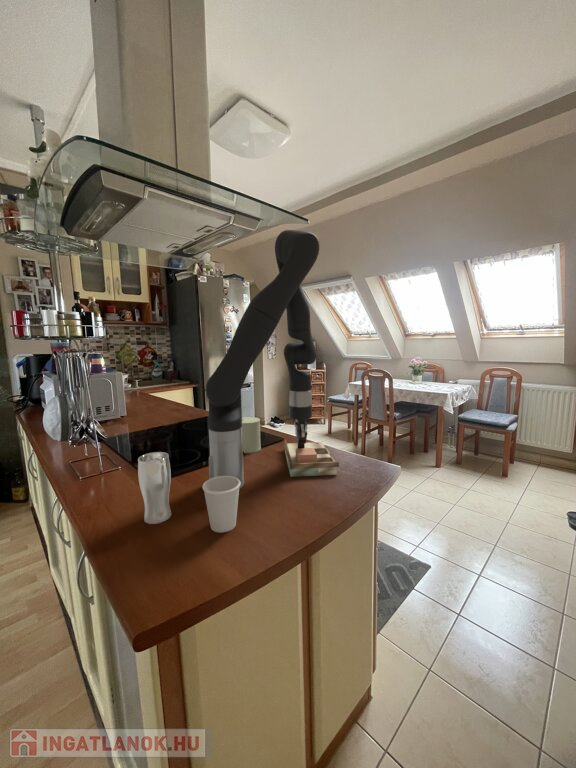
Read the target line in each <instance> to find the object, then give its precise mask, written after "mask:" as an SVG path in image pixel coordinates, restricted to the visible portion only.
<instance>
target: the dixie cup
mask: <svg viewBox="0 0 576 768" xmlns="http://www.w3.org/2000/svg"><path fill="white" fill-rule="evenodd" d="M240 484H241V482H240V480H239V479H237V478H235V477H232V476H218V477H214V478H211V479H210V478H209V479H207V480H206V481H204V483H203V484H202V487H201V488H202V490H203V492H204V497H205V498H204V499H205V504H206V509H207V513H208V514H207V515H208V519H209V525H210V528H211V529H210V530H212V531H213V532H215V533H221V534H222V533H227V532H230V531H232V530H233V529H235V527H236V525H237V517H238V507H239V505H238V504H239V495H240V493H239V492H240V489H239V486H240Z"/></svg>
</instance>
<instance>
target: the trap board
mask: <svg viewBox="0 0 576 768" xmlns="http://www.w3.org/2000/svg"><path fill="white" fill-rule="evenodd" d="M283 441H284V442H283V443H284V453H285V458H286V464H287V467H288V472H289V476H290V478H293V477H294V478H295V477H296V478H297V477H314V476H332V475H333V476H334V475H335V476H336V475H337V474H338V468H339V467H340V464H339V463H340V461H339V460H338V461H336V460H335V458H334V457H333V456H331V455H332V454H331V452H330V450H329V449H328V448H327V447H326V446H325V445H324V443H323V441H321V442H320V441H319V442H318V441H317V442H306V444H305V448H314V450H315V451H316V453H317V462H314V463H297V461H296V449H298V445H297V442H295V443H294V442H292V443H290V442H289V443H288V442H287V439H284V440H283ZM317 443H318V444H317Z"/></svg>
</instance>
